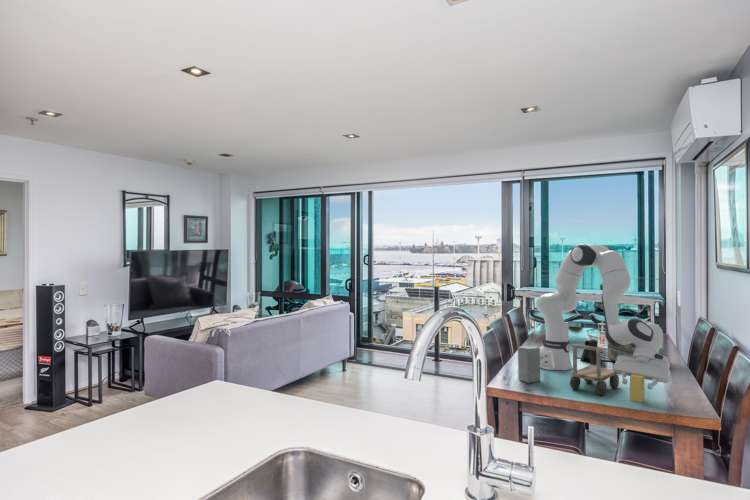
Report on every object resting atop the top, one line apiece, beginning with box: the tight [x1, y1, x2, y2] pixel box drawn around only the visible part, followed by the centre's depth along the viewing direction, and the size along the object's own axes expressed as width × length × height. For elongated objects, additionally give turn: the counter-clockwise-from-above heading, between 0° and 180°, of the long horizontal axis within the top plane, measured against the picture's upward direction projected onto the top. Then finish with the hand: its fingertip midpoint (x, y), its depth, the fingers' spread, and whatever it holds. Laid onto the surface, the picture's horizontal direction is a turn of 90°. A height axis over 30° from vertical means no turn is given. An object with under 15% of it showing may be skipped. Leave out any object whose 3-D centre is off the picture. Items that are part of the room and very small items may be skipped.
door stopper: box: [580, 339, 603, 366], centre depth 242 cm, size 9×6×12 cm, turn 25°
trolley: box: [569, 343, 620, 397], centre depth 198 cm, size 13×20×20 cm, turn 131°
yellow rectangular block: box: [629, 374, 645, 404], centre depth 182 cm, size 4×4×10 cm
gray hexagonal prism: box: [517, 345, 541, 384], centre depth 211 cm, size 8×7×16 cm
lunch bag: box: [607, 320, 662, 363], centre depth 243 cm, size 26×18×22 cm
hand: (636, 385), depth 182 cm, fingers open, 8 cm apart
